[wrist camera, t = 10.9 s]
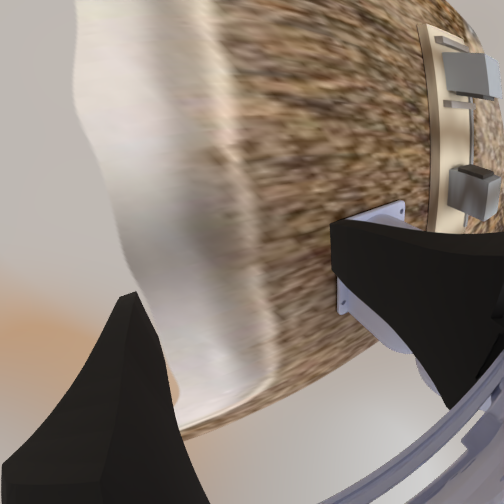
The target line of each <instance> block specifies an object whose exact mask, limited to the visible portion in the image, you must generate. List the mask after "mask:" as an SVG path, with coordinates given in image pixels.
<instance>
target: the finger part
mask: <svg viewBox="0 0 504 504" xmlns="http://www.w3.org/2000/svg"><path fill="white" fill-rule="evenodd" d="M442 56H443V62H444V69H445V77H446V86H447V90H449V91H456V95H459V96H466V97H473V98H479V99H485V100H491V101H494V97H495V98H500V99H502V89H501V79H500V71H499V64H498V61H497V60H495V59H493V58H492V57H490V56H488V55H486V54H483V53H463V52H442Z"/></svg>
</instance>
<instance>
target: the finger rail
mask: <svg viewBox="0 0 504 504" xmlns="http://www.w3.org/2000/svg"><path fill="white" fill-rule="evenodd" d="M417 28H418V33H419V38H420V43H421V48H422V54H423V60H424V66H425V74H426V81H427V90H428V101H429V114H430V135H431V178H430V198H429V212H428V223H427V232H438V233H450V234H462V233H464V232H465V228H466V226H467V222H468V215H470V216H473V217H475V218H477V219H479V220H481V221H483V222H484V221H485V220H487V219H488V218H490V217H491V216H493V215H494V214H495V213H497V209H498V202H499V194H500V186H501V177H499V176H497V175H494V172H493V171H490V170H487V169H484V168H481V167H478V166H475V165H473V156H474V120H473V110H476V106H475V103H473V101H472V97H466V96H459V95H456V91H449V90H447V86H446V77H445V69H444V62H443V56H442V52H463V53H469V47H467V46H465V45H464V41H463V39H461V38H459V37H457V36H455V35H453V34H450V33H448V32H446V31H443V30H441V29H439V28H436V27H434V26H431V25H429V24H418V25H417Z"/></svg>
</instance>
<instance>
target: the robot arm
mask: <svg viewBox="0 0 504 504" xmlns="http://www.w3.org/2000/svg"><path fill="white" fill-rule="evenodd" d="M404 215H405V203H404V201H402V200H398V201H395V202H392V203H390V204H387V205H384V206H381V207H378V208H375V209H372V210H369V211H367V212H364V213H361V214H358V215H355V216H352V217H349V218H347V219H342V220H339V221H336V222H333V223H330V238H331V264H332V271H333V272H334V273H335V274H336V276H337V312H338V313H339V314H340V315H343V314H345V313H347V312H349V313H350V314H351V315H352V316H353V317H354V318H356V319H357V320H358V321H359V322H360V323H361V324H362V325H363V326H364V327H365V328H366V329H367V330H369V331H370V332H371V333H372V334H373V335H374V336H375V337H376V338H377V339H378V340H379V341H380V342H381V343H383V344H384V345H385V346H386V347H388V348H389V349H391V350H394V351H396V352H399V353H404V354H414V355H415V357H416V365H417V368H418V370H419V373H420V376H421V377H422V379H423V380H424V382H425V383H426V384H427V385H428V386H429V387H430V388H431V389H432V390H433V391H434V392H435V393H437V394H438V395H439V396H441V397H442V399H443V401H444V403H445V405H446V407H447V408H448V409H449V410H450V411H449V412H448V413H447V414H446V415H445V416H444V417H442V418H441V419H440V420H439V421H438V422H437V423H436V424H435V425H434V426H433V427H431V428H430V429H429V430H428V431H427V432H426V433H425V434H423V435H422V436H421V437H420V438H419V439H417V440H416V441H415V442H414V443H412V444H411V445H410V446H409V447H408V448H406V449H405V450H403V451H402V452H401V453H400V454H398V455H397V456H396V457H394V458H393V459H391V460H390V461H389V462H387V463H386V464H384V465H383V466H381V467H380V468H378V469H377V470H376V471H374V472H372V473H371V474H369V475H368V476H366V477H365V478H363V479H362V480H360V481H358V482H356V483H355V484H353V485H351V486H350V487H348V488H346V489H345V490H343V491H341V492H339V493H337V494H336V495H334V496H332V497H330V498H328V499H326V500H324V501H322V502H320V503H318V504H369V503H370V502H372V501H373V500H375V499H377V498H378V497H380V496H381V495H383V494H384V493H386V492H387V491H389V490H390V489H391V488H393V487H394V486H395V485H397V484H398V483H400V482H401V481H402V480H404V479H405V478H406V477H408V476H409V475H410V474H411V473H413V472H414V471H415V470H416V469H418V468H419V467H420V466H421V465H422V464H424V463H425V462H426V461H427V460H429V459H430V458H431V457H432V456H433V455H434V454H435V453H437V452H438V451H439V450H440V449H441V448H442V447H443V446H444V445H445V444H446V443H447V442H448V441H449V440H450V439H451V438H452V437H453V436H454V435H455V434H456V433H457V432H458V431H459V430H460V429H461V428H462V427H463V426H464V425H465V424H466V423H467V422H468V421H469V420H470V419H471V418H472V417H473V415H474V414H475V413H476V412H477V411H478V410H483V411H485V413H484V415H483V416H482V417H481V418H480V419H479V421H478V422H477V423H476V424H475V425H474V426H473V427H472V428H471V429H470V430H469V432H468V433H467V434H466V435H465V436H464V437H463V438H462V439H461V442H462V443H463V445H465V446H466V448H467V450H466V451H465V452H464V453H463V454H462V455H461V456H460V457H459V458H458V459H457V460H456V461H455V462H454V463H453V464H452V465H451V466H450V467H449V468H448V469H447V470H445V471H444V472H443V473H442V474H441V475H440V476H439V477H438V478H436V479H435V480H434V481H433V482H432V483H430V484H429V485H428V486H427V487H426V488H424V489H423V490H422V491H421V492H419V493H418V494H417V495H415V496H414V497H413V498H412V499H410V500H409V501H407V502H406V503H405V504H504V232H497V233H485V234H450V233H438V232H427V231H422V230H420V229H418V228H416V227H414V226H412V225H410V224H408V223H406V222H404ZM342 301H343V302H342ZM1 479H2V480H1V496H2V497H1V498H2V504H210V502H209V500H208V498H207V497H206V494H205V492H204V490H203V488H202V486H201V484H200V482H199V480H198V477H197V475H196V473H195V471H194V468H193V466H192V463H191V461H190V458H189V456H188V453H187V451H186V448H185V446H184V443H183V440H182V437H181V434H180V431H179V428H178V425H177V421H176V417H175V413H174V408H173V404H172V398H171V393H170V387H169V381H168V376H167V369H166V364H165V359H164V355H163V352H162V348H161V345H160V341H159V337H158V335H157V333H156V331H155V329H154V327H153V325H152V323H151V321H150V319H149V317H148V315H147V313H146V311H145V309H144V307H143V305H142V303H141V301H140V299H139V296H138V294H137V292H133V293H130V294H127V295H124V296H121V297H119V299H118V301H117V303H116V305H115V307H114V309H113V311H112V313H111V315H110V317H109V319H108V321H107V323H106V325H105V327H104V329H103V331H102V333H101V335H100V337H99V339H98V341H97V343H96V344H95V346H94V348H93V350H92V352H91V354H90V356H89V357H88V359H87V361H86V363H85V365H84V366H83V368H82V370H81V371H80V373H79V374H78V376H77V378H76V379H75V381H74V382H73V384H72V385H71V387H70V388H69V390H68V391H67V392H66V394H65V395H64V396H63V398H62V399H61V401H60V402H59V403H58V404H57V406H56V407H55V409H54V410H53V411H52V413H51V414H50V415H49V416H48V417H47V419H46V420H45V421H44V422H43V423H42V425H41V426H40V427H39V428H38V429H37V430H36V431H35V432H34V434H33V435H32V436H31V437H30V438H29V439H28V440H27V441H26V442H25V443H24V444H23V445H22V446H21V447H20V448H19V449H18V450H17V451H16V452H15V453H14V454H13V455H12V456H11V457H9V458H8V459H7V460H6V461H5V462H4V463H3V464H2V477H1Z"/></svg>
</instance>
